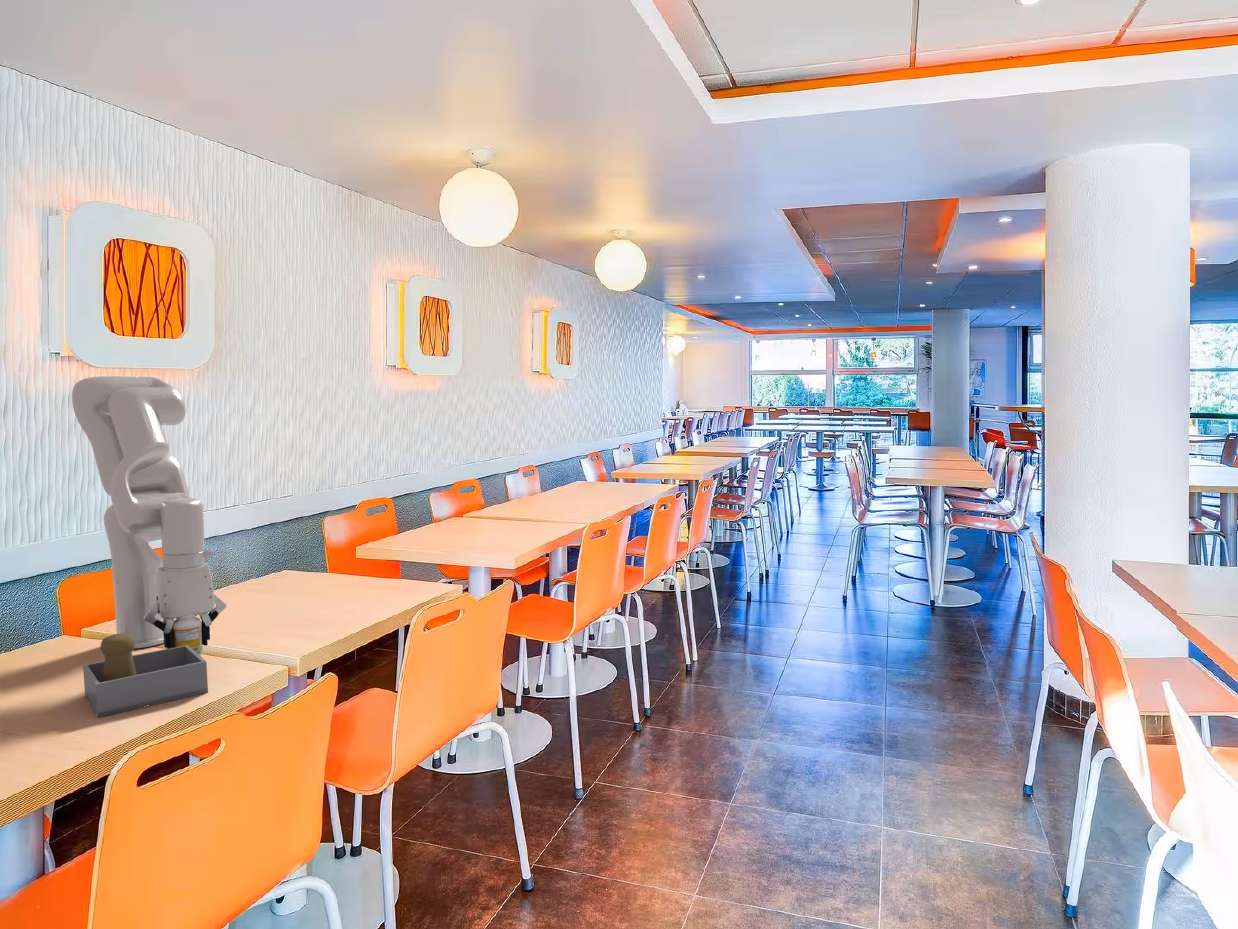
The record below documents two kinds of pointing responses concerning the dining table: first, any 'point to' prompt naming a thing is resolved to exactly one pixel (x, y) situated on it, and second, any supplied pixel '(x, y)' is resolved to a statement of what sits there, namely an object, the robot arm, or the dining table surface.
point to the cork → (118, 656)
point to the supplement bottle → (188, 632)
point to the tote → (147, 681)
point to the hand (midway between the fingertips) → (187, 646)
